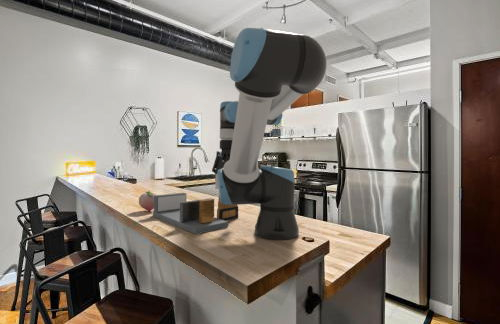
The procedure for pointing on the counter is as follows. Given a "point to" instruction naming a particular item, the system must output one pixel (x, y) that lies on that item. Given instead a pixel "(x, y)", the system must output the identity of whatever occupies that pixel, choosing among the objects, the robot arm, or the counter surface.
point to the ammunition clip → (226, 211)
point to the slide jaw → (197, 210)
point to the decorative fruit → (147, 201)
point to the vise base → (170, 212)
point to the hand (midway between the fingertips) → (228, 190)
